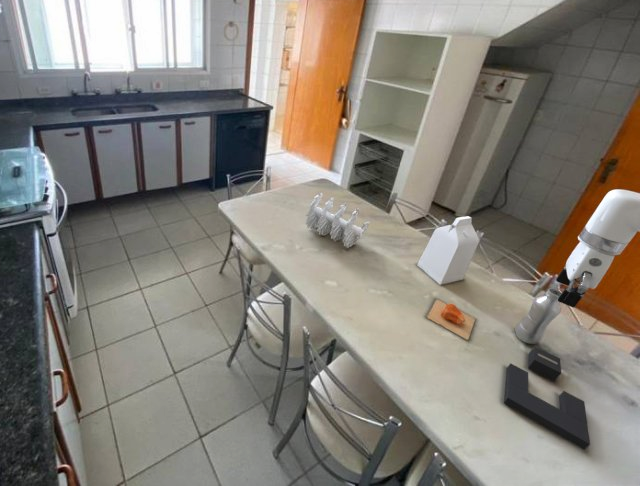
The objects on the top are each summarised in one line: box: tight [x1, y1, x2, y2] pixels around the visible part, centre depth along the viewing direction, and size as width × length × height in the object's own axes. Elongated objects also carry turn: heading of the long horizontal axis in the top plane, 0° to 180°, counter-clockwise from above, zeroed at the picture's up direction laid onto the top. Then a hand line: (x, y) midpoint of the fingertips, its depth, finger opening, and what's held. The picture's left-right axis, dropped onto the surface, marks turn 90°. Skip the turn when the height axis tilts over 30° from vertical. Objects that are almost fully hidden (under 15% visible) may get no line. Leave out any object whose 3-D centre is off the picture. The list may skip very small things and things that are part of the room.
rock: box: [426, 298, 476, 341], centre depth 110 cm, size 12×12×4 cm
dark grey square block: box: [527, 345, 562, 382], centre depth 96 cm, size 6×6×4 cm
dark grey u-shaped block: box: [503, 362, 591, 450], centre depth 86 cm, size 16×13×2 cm
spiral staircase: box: [305, 192, 370, 249], centre depth 145 cm, size 18×18×25 cm
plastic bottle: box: [514, 287, 563, 345], centre depth 101 cm, size 6×7×20 cm
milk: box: [417, 215, 480, 286], centre depth 126 cm, size 12×12×26 cm
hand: (564, 293), depth 85 cm, fingers open, 9 cm apart
